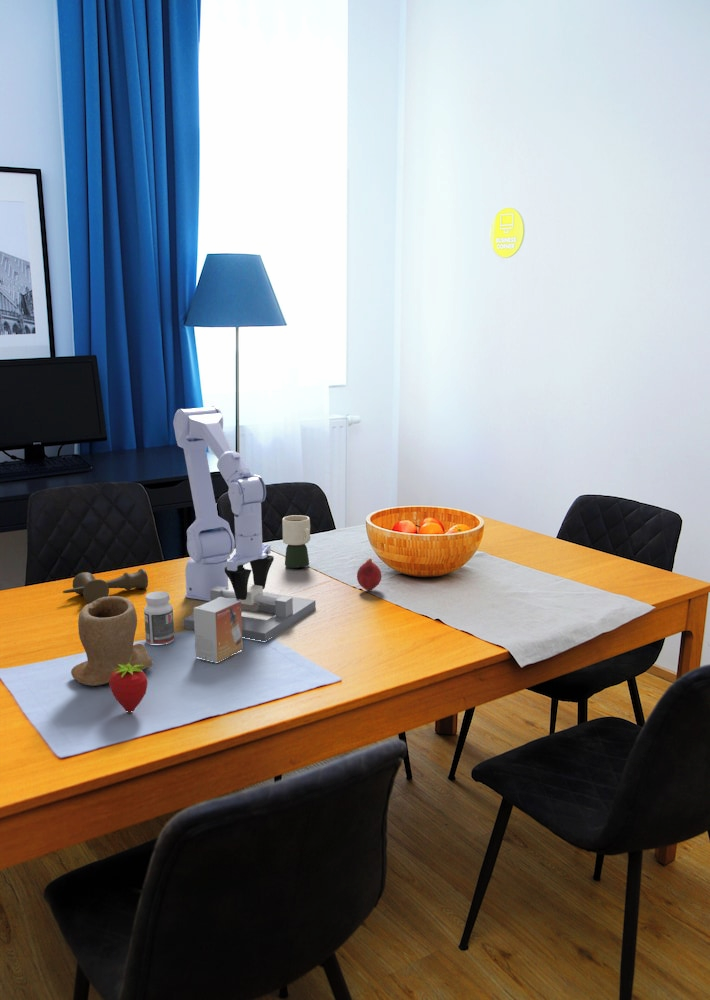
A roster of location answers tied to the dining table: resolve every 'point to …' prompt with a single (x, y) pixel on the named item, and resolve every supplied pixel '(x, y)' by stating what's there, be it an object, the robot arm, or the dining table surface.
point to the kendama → (106, 584)
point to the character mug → (296, 540)
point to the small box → (218, 629)
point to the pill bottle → (158, 618)
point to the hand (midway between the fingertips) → (250, 593)
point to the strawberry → (128, 685)
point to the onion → (369, 575)
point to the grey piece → (280, 605)
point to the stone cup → (108, 640)
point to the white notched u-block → (252, 598)
